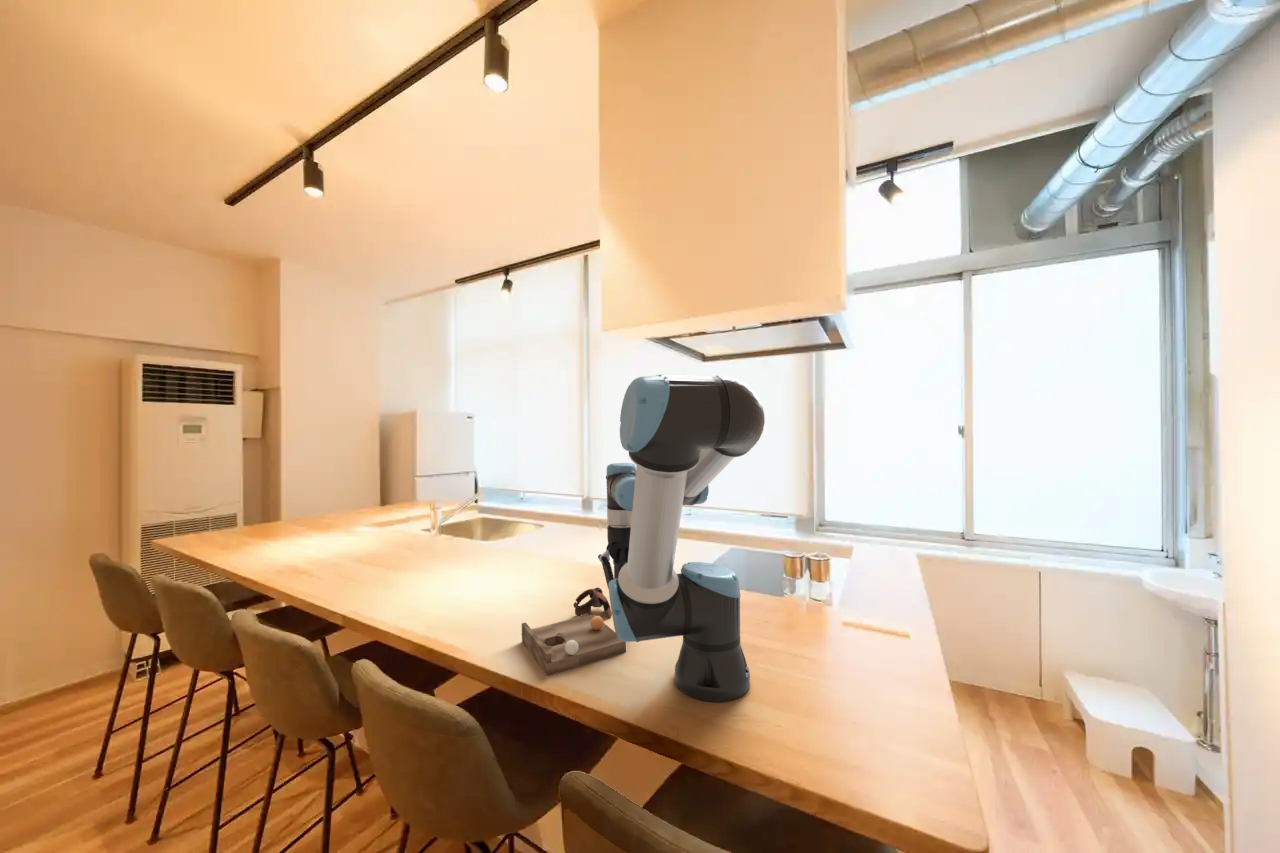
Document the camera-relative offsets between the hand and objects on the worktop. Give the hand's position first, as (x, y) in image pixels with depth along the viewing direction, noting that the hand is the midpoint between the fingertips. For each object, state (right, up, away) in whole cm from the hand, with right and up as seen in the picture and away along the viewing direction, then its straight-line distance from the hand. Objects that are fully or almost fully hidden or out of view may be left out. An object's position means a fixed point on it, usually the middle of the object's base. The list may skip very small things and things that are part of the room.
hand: (623, 617), depth 118 cm
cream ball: (-11, 0, -16) cm, 19 cm away
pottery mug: (-8, -4, +11) cm, 15 cm away
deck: (-12, -4, -7) cm, 14 cm away
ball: (-6, 0, -4) cm, 8 cm away
